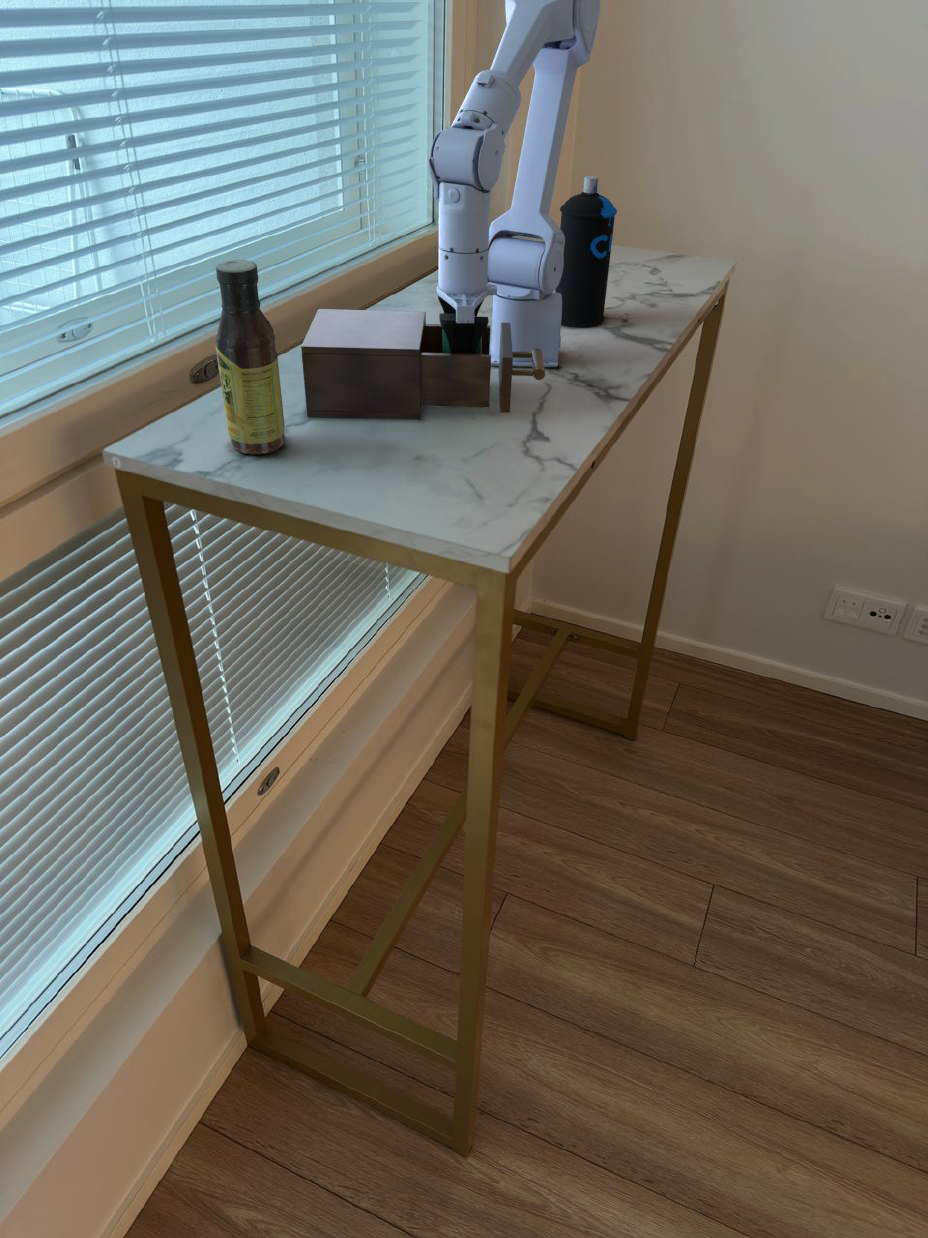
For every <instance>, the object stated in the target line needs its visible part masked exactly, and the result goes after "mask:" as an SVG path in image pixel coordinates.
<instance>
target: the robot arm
mask: <svg viewBox="0 0 928 1238" xmlns="http://www.w3.org/2000/svg"><path fill="white" fill-rule="evenodd" d="M504 10H505V22H506V26H505V28H504V30H503V34H502V36H501V40H500V42H499V45H498V47H497V50H496V53H495V55H494V57H493V61H492V63H491V66H490V68H489V69H484V70H482V71H480V72H479V73H477V74H476V75H475V77H474V79H473V81H472V83H471V85H470V87H469V89H468V91H467V93H466V95H465V96H464V97H465V98H464V99H463V102H462V104H461V105H460V108H459V110H458V111H457V114H456V116H455V117H454V119H453V122H452V124H451V126H446V128H443V129H442V130H441V131H439V132H437V134H436V135H435V136H434V138H433V140H432V143H431V145H430V151H429V157H428V159H427V161H428V163H427V164H428V171H429V176H430V178H431V181H432V184H433V198H434V201H435V202H436V204H437V203H438V284H437V285H436V294H437V299H438V302H439V304H440V306H441V308H442V312H443V313H441V312H439V316H438V317H439V318H438V319H439V324H441V326H442V328H443V330H444V332H445V334H446V337H447V340H448V344H449V349H450V354H476V352H477V348H478V345H479V342H480V339H481V337H482V335H483V333H484V331H485V329H486V328H487V325H489V322H490V321H489V316H478V314H479V311H480V309H481V307H482V305H483V303H484V301H485V299H486V298H487V297H489V296H492V315H491V316H492V318H491V338H490V354H489V355H491V367H492V366H495V367H496V366H497V367H499V351H500V329H501V323H510V327H511V340H512V352H532V350H534V349H540V350H541V351H542V355H543V362H544V368H557V367H559V352H560V349H561V343H562V335H561V331H562V330H561V328H562V324H561V318H562V295H561V293H555V289H556V288H557V286H558V284H559V282H560V280H561V276H562V272H563V265H564V256H563V254H564V245H565V236H564V234H563V232H562V231H561V229H560V227H559V225H558V224H557V223H556V222H555V221H554V219H553V218H552V217H551V216H550V209H551V204H552V201H553V195H554V189H555V183H556V178H557V174H558V168H559V164H560V158H561V153H562V147H563V142H564V139H565V138H564V137H565V132H566V128H567V127H566V126H567V121H568V117H569V111H570V106H571V100H572V96H573V92H574V87H575V82H576V76H577V71H578V69H579V68H581V67H582V66H584V65H585V64H587V63H588V62H590V60H591V55H592V50H593V48H594V44H595V40H596V36H597V35H596V34H597V30H598V23H599V20H600V14H601V0H505V9H504ZM532 65H533V68H534V79H533V85H532V89H531V90H532V91H531V95H530V101H529V108H528V113H527V117H526V124H525V129H524V134H523V140H522V145H521V151H520V155H519V156H520V157H519V161H518V168H517V171H516V172H517V173H516V178H515V183H514V184H515V185H514V190H513V194H512V201H511V206H510V208H509V209H508V210H507V211H506V212H504V213H503V214H501V215H500V216H498V217H497V218H495V219H494V220H493V221H492V222H491V221H490V220H491V219H490V218H491V196H492V194H491V193H492V189H493V188H494V187H495V185H496V184H497V182H498V181H499V178H500V174H501V171H502V165H503V158H504V154H505V149H506V143H505V139H506V137H507V134H508V133H509V131H510V129H511V127H512V125H513V122H514V120H515V118H516V116H517V114H518V112H519V109H520V107H521V105H522V94H521V91H520V88H519V87H520V85H521V84H522V82H523V80H524V78H525V77H526V75H527V73H528V71H530V68H531V67H532ZM517 237H518V238H517ZM519 237H526V238H531V239H524V238H519ZM532 239H539V240H543V241H539V240H538V241H537V240H532ZM474 315H475V316H477V317H474ZM512 367H532V368H533V366H532V358H513V366H512Z"/></svg>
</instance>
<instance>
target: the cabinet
mask: <svg viewBox="0 0 928 1238" xmlns="http://www.w3.org/2000/svg"><path fill="white" fill-rule="evenodd" d="M425 324H427V312H426V311H411V310H410V311H409V310H408V311H407V310H377V309H376V310H374V309H373V310H372V309H339V308H338V309H334V308H332V309H331V308H318V309H317V311H316V313H315V316H314V319H313V320H312V322H311V324H310V327H309V329H308V331H307V333H306V335H305V338H304V340H303V342H302V344H301V346H300V349H301V350H300V351H301V362H302V373H303V375H302V376H303V385H304V395H305V406H306V407H305V409H306V416H307V418H338V419H339V418H341V419H374V420H375V419H376V420H377V419H378V420H379V419H380V420H381V419H382V420H415V421H416V420H418V421H419V420H421V418H422V411H423V406H421V377H420V352H421V346H422V339H423V333H424V326H425Z"/></svg>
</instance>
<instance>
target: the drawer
mask: <svg viewBox="0 0 928 1238" xmlns="http://www.w3.org/2000/svg"><path fill="white" fill-rule="evenodd" d="M491 329H492V326H491V325H490V324H488V325H487V328H486V329H485V331H484V333H483V335H482V347H481V354H449V353H442V326H441V324H440V323H426V324H425V326H424V333H423V339H422V346H421V352H420V377H421V406H422V407H447V408H448V407H449V408H450V407H451V408H481V409H483V408H485V409H486V408H487V409H489V408H490V398H491V397H490V396H491V395H490V394H491V373H492V372H491V371H492V370H491V369H492V365H491V355H489V354H490V342H491ZM513 358H532V366H533V367H532V369H519V368H517V369H515V368H513V367H514V366H513ZM513 377H533V378H534V379H535V380H537V381H542V380H544V378H545V377H546V370H545V367H544V362H543V355H542V351H541V350H540V349H534V350H532V352H512V340H511V327H510V323H501V329H500V351H499V366H498V396H499V397H498V398H499V399H498V400H499V413H501V414H511V401H512V400H511V399H512V383H513V382H512V381H513Z"/></svg>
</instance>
